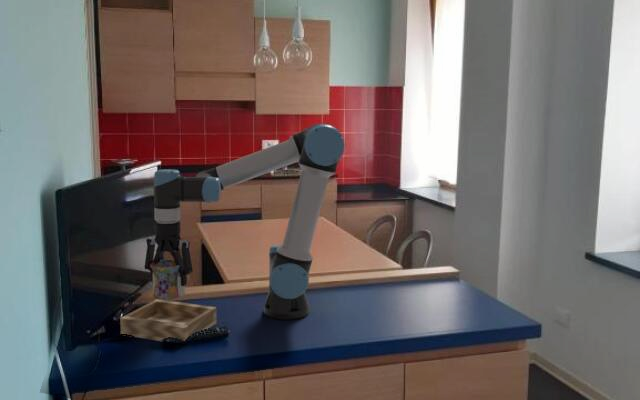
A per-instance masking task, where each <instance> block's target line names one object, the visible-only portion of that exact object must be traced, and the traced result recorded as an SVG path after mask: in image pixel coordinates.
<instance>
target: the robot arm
mask: <svg viewBox="0 0 640 400" xmlns="http://www.w3.org/2000/svg"><path fill="white" fill-rule="evenodd" d="M344 151H345V140H344V137H343V135H342V133H341V132H340V130H338V128H336V127H335V126H333V125H332V124H331V125H330V124H328V123H327V124H326V123H321V122H320V123H315V124H312V125H310V126H309V127H307V128H305V129H303V130H301V131H298V132H297V133H295V134H292V135H290V137H289V139H287V140H285V141H283V142H282V141H281V142H280V143H277V144H275V145H271V146H269V147H265V148H263V149H260V150H259V151H255V152H253V153H250V154H247V155H245V156H241V157H240V158H237V159H233V160H231V161H228V162H226V163H223V164H221V165H218V166H216V167H212V168H210V169H208V170H202V171H200V172H198V173H197V174H196V175H195V176H182V175H181V174H180V173H181V172H180V171H179V170H178V169H172V168H171V169H170V168H168V169H167V168H165V169H158V170H156V171H155V172H154V174H153V175H154V178H153V197H154V198H153V200H154V201H153V202H154V209H153V211H154V217H153V218H154V220H155V222H154V233H155V236H154V237H153V236H151V237H148V238H146V253H145V260H144V270H148V271H149V272H150V282H151V283H152V293H153V292H154V289H155V276H154V273H153V270H152V268H151V266H150V264H151V263H152V262H154V263H155V265H156V264H157V263H159V262H160V261H161V260H163V257H164V253H165V252H166V253H167V252H168V253H169V254H170V255H171V256H172V258H173V260H174V261H175V263H176V266H178V265H180V267H179V270H178V271H179V275H178V295H179V297H178V298H181V297H183V296H185V292H186V290H185V289H186V288H185V287H186V286H187V283H188V281H187V279H188V277H187V276H188V275H190V274H192V273H193V272H194V271H193V265H192V259H191V253H190V241H189V240H182V239H181V232H182V231H181V229H182V228H181V221H180V220H181V202H182V203H186V202H189V203H196V202H197V203H208V204H209V203H216V202H219V201H220V200H221V193H222V192H221V191H222V190H225V189H228V188H231V187H233V186H236V185H238V184H241V183H244V182H247V181H249V180H252V179H254V178H258V177H260V176H262V175H266V174H268V173H271V172H273V171H276V170H279V169H282V168H284V167H287V166H291V165H292V164H296V163H297V162H298V166H299V167H300V169H301V172H300V176H299V179H298V183H297V188H296V191H295V196H294V200H293V203H292V206H291V211H290V214H289V215H290V216H289V219H288V223H287V227H286V230H285V233H284V238H283V242H282V244H275V245H272V246H270V248H269V253H268V257H269V275H268V278H269V281H268V282H269V284H268V285H269V286H268V287H269V289H268V293H267V296H266V299H265V302H264V304H263V305H264V306H263V313H264V315H266V316H267V317H268V318H272V319H276V320H296V319H301V318H304V317H306V316H308V315H309V312H310V305H309V302H308V299H307V295H306V290H307V289H308V286H309V283H310V281H309V280H310V279H309V274H310V270H311V266H312V262H313V260H314V258H313V256H312V254H311V253H310V252H311V247H312V244H313V240H314V235H315V232H316V228H317V225H318V222H319V217H320V214H321V210H322V205H323V202H324V198H325V194H326V190H327V187H328V183H329V180H330V179H329V178H330V177H331V176H333V175H335V174H336V173H337V172H336V171H337V168H338V165H339V161H340V159H341V157H342V156H343V154H344ZM156 245H157V248H156ZM155 248H156V250H155ZM180 249H181V250H180Z"/></svg>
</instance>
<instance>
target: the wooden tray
mask: <svg viewBox="0 0 640 400" xmlns="http://www.w3.org/2000/svg"><path fill="white" fill-rule="evenodd" d="M217 320H218V319H217V306H211V305H210V306H208V305H202V304H193V303H187V302H180V301H173V300H159V299H156V298H155V299H154V300H152V301H150V302H148V303H147V304H145V305H143V306H141V307H138V308H136V309H135V310H133V311H132V312H130V313H127V314H126V315H124V316H122V317H120V319H119V321H120V322H119V324H120V335H121V334H127V335H132V336H134V338H140V339H145V340H152V341H157V342H158V341H159V342H163V341H162V340H163V339H164V338H168V337H173V338H178V339H181V340H183V341H185V340H186V339H187V338H188V337H189V336H191V335H192V334H193V333H195V332H197V331H200V330H204V329H207V330H209V329H210V328H212V327H213V326H215V325H216V324H217ZM208 328H209V329H208ZM132 336H131V337H132Z"/></svg>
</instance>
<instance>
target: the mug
mask: <svg viewBox="0 0 640 400" xmlns="http://www.w3.org/2000/svg"><path fill="white" fill-rule="evenodd" d="M150 266H151V268H152V270H153V273H154V276H155V289H154V292H153V291H152V294H151V296H152V297H153V298H154V299H155V300H156V299H159V300H167V301H172V300H175V299H177V298H180V297H179V295H178V275H180V274H179V271H178V270H179V267H180V265H178V266H176V263H175V261H174V259H161V261H160V262H159V263H157V264H156V265H155V263H154V262H152V263H151V264H150Z"/></svg>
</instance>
